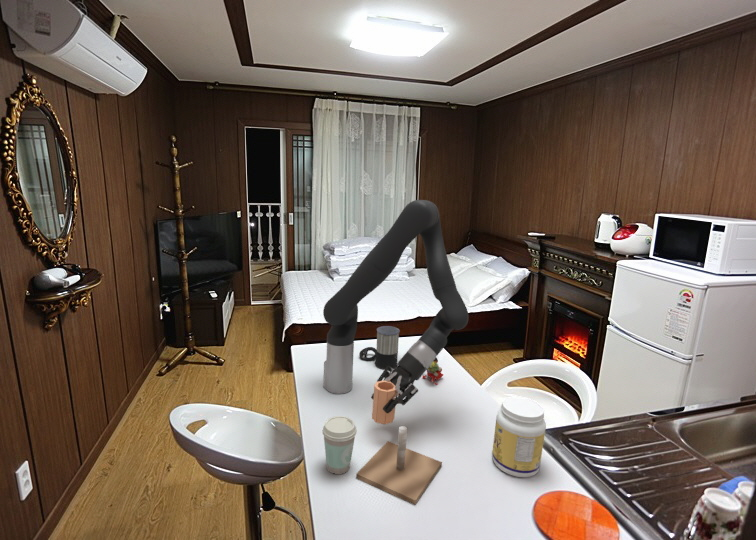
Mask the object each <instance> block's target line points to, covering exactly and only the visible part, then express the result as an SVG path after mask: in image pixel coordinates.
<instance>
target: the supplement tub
mask: <svg viewBox="0 0 756 540" xmlns="http://www.w3.org/2000/svg"><path fill="white" fill-rule="evenodd" d="M544 414H545V410H544V407H543V406H542V405H541V404H540V403H539V402H538V401H536V400H534V399H531V398H529V397H525V396H520V395H512V396H506V397H504V398H503V399H502V401H501V405H500V408H499V410H498V411H497V413H496V418H495V426H494V427H495V428H494V436H493V442H492V444H493V445H492V452H491V457H492V461H493V463H494V464H495V466H496V467H497V468H498V469H499V470H501V471H502V472H504V473H506V474H508V475H509V476H512V477H517V478H518V477H519V478H529V477H532V476H535V475H536V474H537V473H538V472H539V470H540V467H541V461H542V455H543V448H544V442H545V433H546V430H547V429H546V428H547V422H546V420H545V415H544Z"/></svg>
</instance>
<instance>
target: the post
mask: <svg viewBox="0 0 756 540" xmlns="http://www.w3.org/2000/svg"><path fill="white" fill-rule="evenodd" d="M407 434H408V428H407V427H406V426H405V425H403V426H402V425H401V426H399V427H398V434H397V435H398V437H397V444H396V443H394V442H391V441H389V440H387V441H386V443H384V445H383V446H382V447H381V448H380V449H378V450H377V452H376V453H375V454H374V455H373V456H372V457H371V458H370V459H368V461H367V462H365V464H364V465H363V466H362V467H361V468H360V469H359V470H358V472H356V473H355V474H356V476H355V478H356V479H357V478H358V479H357V480H359V479H360V480H359V481H361V482H363V483H366V484H368V485H371V486H373V487H375V488H377V489H379V490H382V491H384V492H386V493H387V494H391V495H393V496H395V497H397V498H398V499H401V500H404V501H405V502H408V503H410V504H412V505H414V506H415V505H416V504H417V503H418V501H419V500H420V498H422V495H423V494H424V493H425V491H426V490H427V488H428V487H429V485H430V484H431V482H432V481H433V480H434V478H435V477H436V475H437V474H438V472H439V471H440V470H441V468H442V465H443V464H442V463H443V462H442V461H439V460H437V459H435V458H432V457H430V456H427V455H424V454H422V453H420V452H418V451H414V450H412V449H409V448H407V446H406V445H407V437H408V435H407Z"/></svg>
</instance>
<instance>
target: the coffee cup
mask: <svg viewBox="0 0 756 540" xmlns="http://www.w3.org/2000/svg"><path fill="white" fill-rule="evenodd" d="M321 431H322V435H323V441H324V451H325V452H324V453H325V461H326V469H327V471H328V470H329V471H330V473H331V472H332V473H331V474H333V473H335V474H334V475H343V474H345V472H346V473H348V471H349V470H350V468H351V463H352V455H353V451H354V445H355V437H356V435H357V433H358V430H357V426H356V424H355V421H354V420H353V419H352V418H350V417H349V416H348V417H347V416H343V415H337V416H332V417H330V418H328V419H327V420H326V421H325V422H324V425H323V427H322V430H321ZM348 469H349V470H348ZM329 471H328V472H329ZM342 473H343V474H342Z"/></svg>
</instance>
